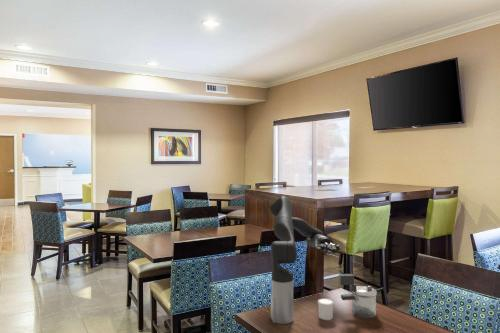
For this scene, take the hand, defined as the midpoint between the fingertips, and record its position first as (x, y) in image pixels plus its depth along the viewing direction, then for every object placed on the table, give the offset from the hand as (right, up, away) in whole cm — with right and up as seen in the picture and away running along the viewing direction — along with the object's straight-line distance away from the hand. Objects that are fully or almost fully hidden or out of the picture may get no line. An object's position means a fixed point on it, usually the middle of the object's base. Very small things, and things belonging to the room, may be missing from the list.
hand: (335, 251), depth 174 cm
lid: (+7, -15, -14) cm, 22 cm away
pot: (+7, -24, -14) cm, 29 cm away
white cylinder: (-8, -25, -17) cm, 31 cm away
